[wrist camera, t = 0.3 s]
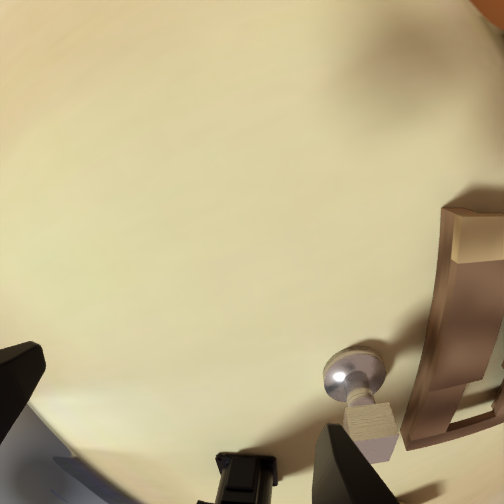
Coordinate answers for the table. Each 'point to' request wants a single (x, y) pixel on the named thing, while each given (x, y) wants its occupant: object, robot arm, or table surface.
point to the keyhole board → (459, 328)
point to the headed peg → (362, 401)
